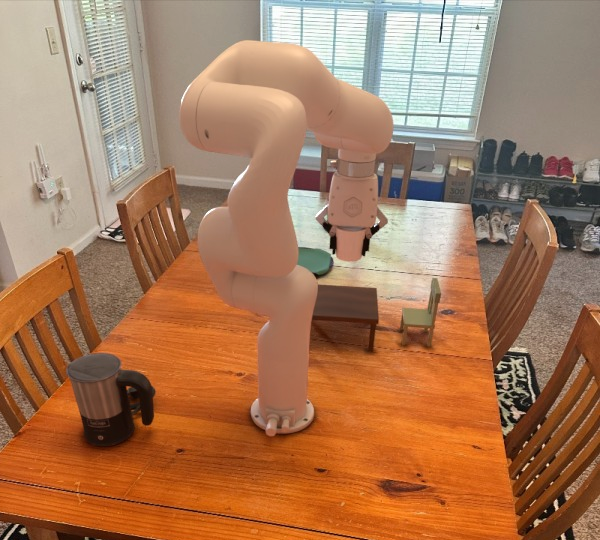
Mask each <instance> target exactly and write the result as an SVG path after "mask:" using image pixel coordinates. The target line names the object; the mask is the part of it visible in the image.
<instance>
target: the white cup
mask: <svg viewBox="0 0 600 540" xmlns="http://www.w3.org/2000/svg"><path fill="white" fill-rule="evenodd" d="M365 231H366V229H364V227H349V226H338V227H336V237H337V239H336V253H335V257H336V258H337V259H338V260H340V261H343V262H347V263H348V262H351V263H352V262H358V261H359V260H361V259H362V257H363V256H362V249H363V240H364V238H365Z"/></svg>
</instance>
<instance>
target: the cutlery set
mask: <svg viewBox="0 0 600 540" xmlns="http://www.w3.org/2000/svg"><path fill="white" fill-rule="evenodd" d="M298 250H299V255H298V262H297V265H299V266H302V267H304V268H306V269H308V270H309V271H311V272H312V273H313V275H318V276H320V275H324V274H327V273H328V272H329V270H330V269H331V268H332V267H333V265H334V263H335V262H334V258H333V257H332V253H329V252H328V251H326V250H324V249H322V248H319V247H318V248H316V247H315V248H312V247H306V246H304V247H303V246H298Z"/></svg>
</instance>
